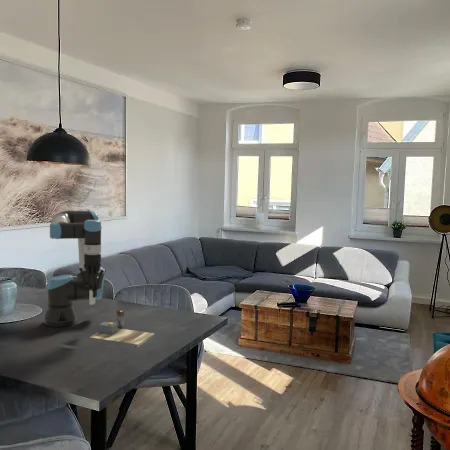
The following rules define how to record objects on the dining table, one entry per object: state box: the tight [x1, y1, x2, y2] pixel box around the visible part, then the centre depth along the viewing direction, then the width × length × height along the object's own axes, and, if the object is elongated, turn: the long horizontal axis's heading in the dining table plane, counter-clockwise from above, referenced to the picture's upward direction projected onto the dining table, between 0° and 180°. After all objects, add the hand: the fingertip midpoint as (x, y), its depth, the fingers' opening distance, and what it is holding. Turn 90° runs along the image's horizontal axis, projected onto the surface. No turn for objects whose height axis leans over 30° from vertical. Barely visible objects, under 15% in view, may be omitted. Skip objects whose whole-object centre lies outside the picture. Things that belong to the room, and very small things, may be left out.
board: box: [89, 328, 155, 348], centre depth 210 cm, size 24×16×1 cm, turn 73°
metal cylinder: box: [116, 309, 125, 329], centre depth 221 cm, size 3×3×9 cm
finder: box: [98, 321, 118, 335], centre depth 213 cm, size 7×5×5 cm
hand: (92, 304), depth 214 cm, fingers closed
